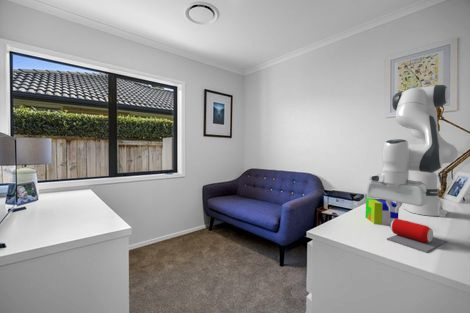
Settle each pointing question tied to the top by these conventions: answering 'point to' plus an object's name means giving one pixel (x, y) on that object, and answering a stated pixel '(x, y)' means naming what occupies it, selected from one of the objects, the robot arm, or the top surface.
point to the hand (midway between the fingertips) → (393, 211)
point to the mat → (417, 243)
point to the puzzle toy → (380, 211)
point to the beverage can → (412, 230)
